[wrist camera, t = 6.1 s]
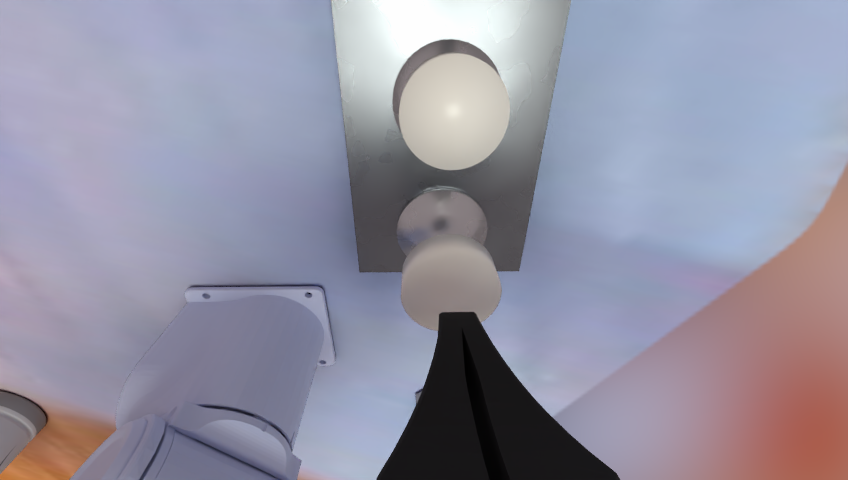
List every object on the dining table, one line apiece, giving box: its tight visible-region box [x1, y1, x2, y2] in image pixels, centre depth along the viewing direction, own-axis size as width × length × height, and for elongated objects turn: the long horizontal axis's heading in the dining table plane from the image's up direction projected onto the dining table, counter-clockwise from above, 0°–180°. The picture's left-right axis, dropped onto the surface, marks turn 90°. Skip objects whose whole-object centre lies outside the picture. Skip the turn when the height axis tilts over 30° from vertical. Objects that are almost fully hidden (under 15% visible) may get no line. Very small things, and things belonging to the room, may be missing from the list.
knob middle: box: [399, 52, 510, 170], centre depth 15 cm, size 4×4×3 cm
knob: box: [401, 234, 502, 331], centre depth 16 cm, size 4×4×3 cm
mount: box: [331, 0, 571, 272], centre depth 17 cm, size 10×20×2 cm, turn 179°
